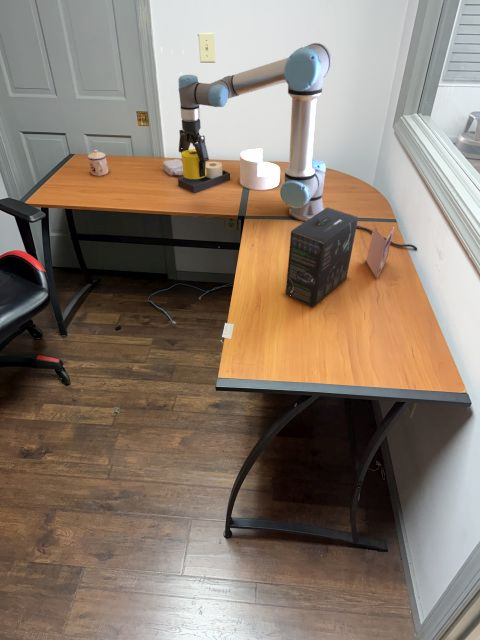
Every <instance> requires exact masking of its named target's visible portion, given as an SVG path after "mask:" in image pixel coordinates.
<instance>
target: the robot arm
mask: <svg viewBox="0 0 480 640" xmlns="http://www.w3.org/2000/svg"><path fill="white" fill-rule="evenodd" d="M331 54H332V53H331V52H330V50H329V48H328V47H327V46H325V45H324V44H322V43H320V42H314V43H310V44H307V45H306V46H303V47H302V46H301V47H299V48H298V49H296V50H294V51H293V52H292V53H291V54H290V55H289V56H288V57H285V58H282V59H279V60H275V61H273V62H269V63H266V64H264V65H260V66H257V67H253V68H251V69H248V70H244V71H241V72H238V73H235V74H232V75H226V76H224V77H223V78H220V79H217V80H215V81H213V82H211V83H207V82H199V79H198V76H197V75H194V74H183V75H180V76H179V77H178V94H179V103H180V105H179V106H180V118H181V128H182V129H179V141H178V142H179V143H178V152H179V153H180V154H181V153H182V152H183V151H186V150H189V149H190V146H191V144H192V146H193V147H194V149H196V152H197V155H198V157H199V160H200V161H199V174H200V177H204V176H206V174H205V169H206V164H205V162H206V163H207V162H209V161H210V158H209V154H208V153H209V152H208V149H207V145H206V136H205V135H201V134H200V130H201V129H202V128H201V127H202V126H201V115H200V114H201V112H200V106H208V107H212V108H213V107H214V108H223V107H225V106H226V104H227V103H228V100H230V99H232V98H235V97H239V96H242V95H245V94H249V93H252V92H256V91H260V90H264V89H267V88H271V87H274V86H278V85H281V84H285V83H286V84H287V94H288V95H289V96H290V98H291V113H290V114H291V116H290V137H289V139H290V140H289V157H288V158H289V159H288V161H289V162H288V166H287V167H286V168H285V170H284V182H283V183H282V185H281V187H280V191H279V194H280V198H281V200H282V202H284V203H285V205H287V206H288V207H289V208H288V209H289V210H288V214H289V216H290V217H291V218H293V219H294V220H297V221H301V222H306V221H307V220H309V219H310V218H312V217H313V216H315V215H316V214H318V213H319V212H321V211H323V210H324V209H325V206H324V202H323V192H324V187H325V186H324V185H325V178H326V169H327V166H326V164H325V162H323V161H320V160H318V159H317V160H316V159H313V153H314V141H315V130H316V129H315V127H316V113H317V103H318V102H317V100H318V98H319V97H320V96H321V95H322V94H323V93H322V92H323V82H324V78H326V77H327V75H328V74H329V72H330V70H331V68H332V63H333V62H332V61H333V60H332V58H333V57H332V55H331ZM356 229H361V230H364V231H367V232H369V233H372V232H373V229H370V228H368V227H364V226H361V225H357V227H356ZM383 238H384V239H385V241H386V240H387V238H386V237H385V236H383ZM390 245H393V246H395V247H399V248H405V247H406V248H407V247H409V248H413V249H414V250H415V251H418V250H417V249H418V247H416V246H415V245H413V244H409V243H408V244H399V243H396V242H393V241H391V242H390Z"/></svg>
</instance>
